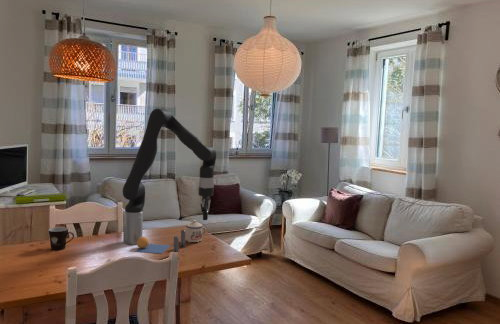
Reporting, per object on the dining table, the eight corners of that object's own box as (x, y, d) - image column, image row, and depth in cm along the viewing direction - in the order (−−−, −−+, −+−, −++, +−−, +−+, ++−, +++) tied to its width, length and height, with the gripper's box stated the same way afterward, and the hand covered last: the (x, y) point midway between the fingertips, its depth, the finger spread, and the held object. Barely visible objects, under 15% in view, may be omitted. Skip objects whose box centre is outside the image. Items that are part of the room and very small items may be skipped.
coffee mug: (44, 249, 200) (44, 229, 199) (60, 245, 207) (60, 226, 206) (60, 253, 194) (60, 233, 193) (75, 249, 202) (75, 229, 201)
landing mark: (135, 251, 202) (135, 251, 202) (145, 243, 216) (145, 243, 216) (161, 253, 200) (161, 253, 200) (170, 245, 214) (170, 245, 214)
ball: (132, 241, 205) (142, 236, 204) (137, 238, 211) (146, 233, 210) (138, 251, 205) (148, 246, 204) (142, 248, 211) (152, 243, 210)
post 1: (172, 254, 199) (173, 237, 198) (174, 253, 201) (174, 236, 201) (177, 255, 199) (177, 237, 198) (178, 253, 201) (179, 236, 200)
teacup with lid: (190, 244, 219) (191, 223, 218) (183, 239, 226) (183, 219, 225) (209, 241, 226) (210, 220, 225) (201, 237, 233) (202, 217, 232)
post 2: (180, 247, 212) (180, 230, 211) (181, 246, 214) (181, 229, 213) (184, 247, 212) (184, 231, 211) (185, 246, 214) (186, 229, 213)
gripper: (202, 184, 209) (201, 216, 211) (195, 187, 196) (194, 222, 198) (216, 184, 208) (215, 217, 210) (210, 188, 195) (209, 223, 197)
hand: (205, 219), depth 204 cm, fingers closed
